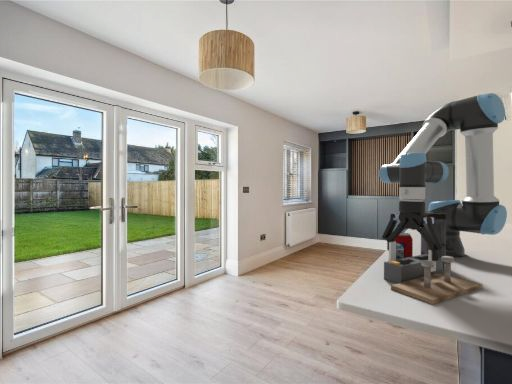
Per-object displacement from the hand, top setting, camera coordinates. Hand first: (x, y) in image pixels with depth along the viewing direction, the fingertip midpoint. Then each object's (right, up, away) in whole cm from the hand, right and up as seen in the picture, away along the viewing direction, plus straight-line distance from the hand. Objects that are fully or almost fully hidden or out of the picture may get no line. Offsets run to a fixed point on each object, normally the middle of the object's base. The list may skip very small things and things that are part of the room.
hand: (410, 265), depth 92 cm
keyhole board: (+2, -4, -10) cm, 11 cm away
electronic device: (+15, -4, +12) cm, 20 cm away
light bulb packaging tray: (+2, -4, +1) cm, 4 cm away
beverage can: (+4, -4, +14) cm, 15 cm away
